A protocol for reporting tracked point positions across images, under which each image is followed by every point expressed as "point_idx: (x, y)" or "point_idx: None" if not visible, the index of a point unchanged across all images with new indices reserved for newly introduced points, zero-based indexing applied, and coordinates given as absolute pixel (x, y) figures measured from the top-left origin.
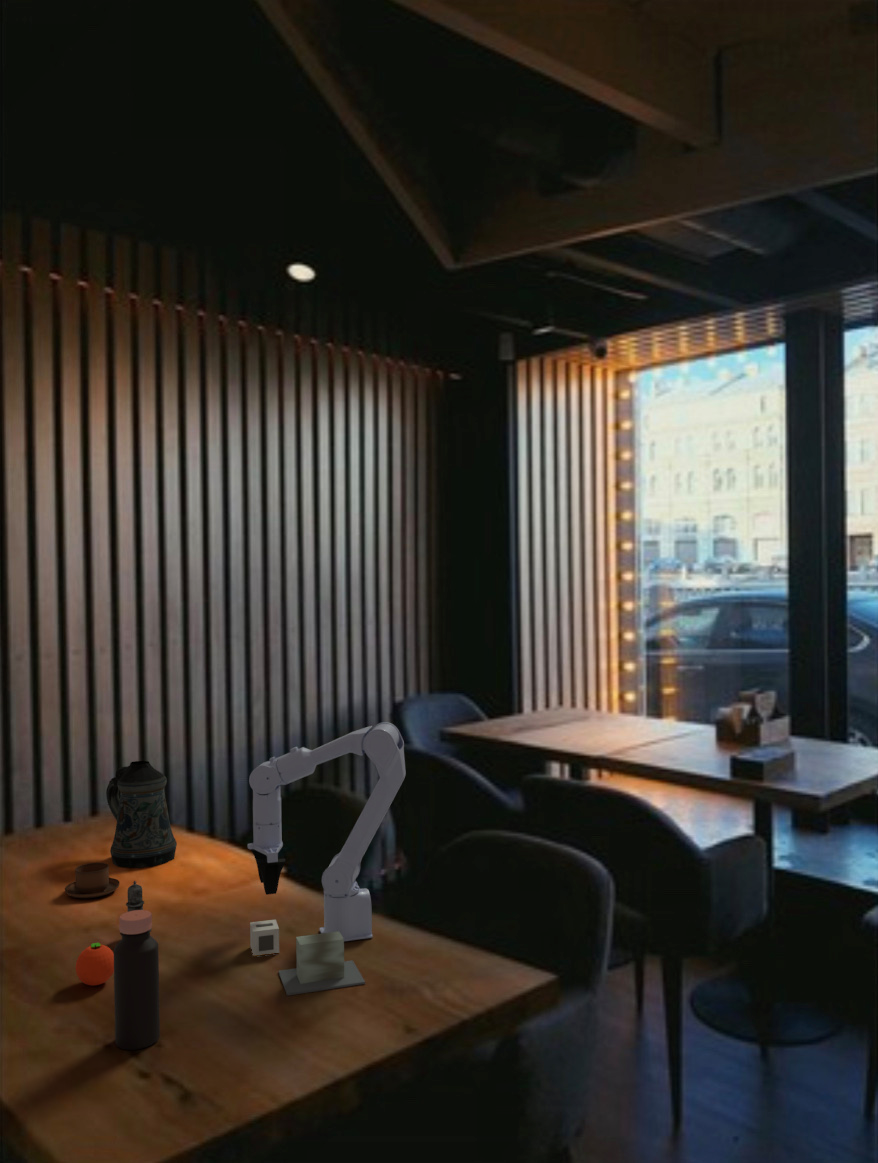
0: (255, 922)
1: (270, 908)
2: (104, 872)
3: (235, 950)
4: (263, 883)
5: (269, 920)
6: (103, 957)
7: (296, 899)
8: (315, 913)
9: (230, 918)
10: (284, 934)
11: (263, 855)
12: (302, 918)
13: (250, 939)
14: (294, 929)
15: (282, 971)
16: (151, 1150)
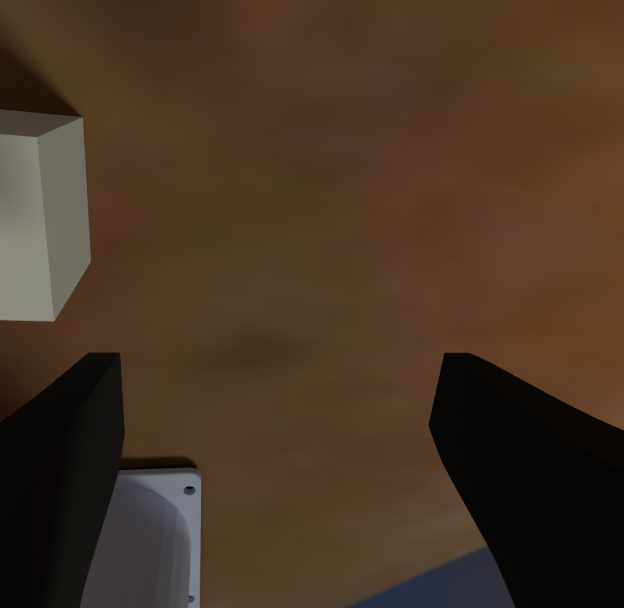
0: (24, 176)
1: (578, 314)
2: None
3: (53, 11)
4: (65, 396)
5: (43, 280)
6: None
7: None
8: (409, 473)
9: (573, 94)
10: (213, 321)
11: (609, 592)
12: (380, 421)
13: (66, 122)
14: (261, 372)
15: None
16: None
